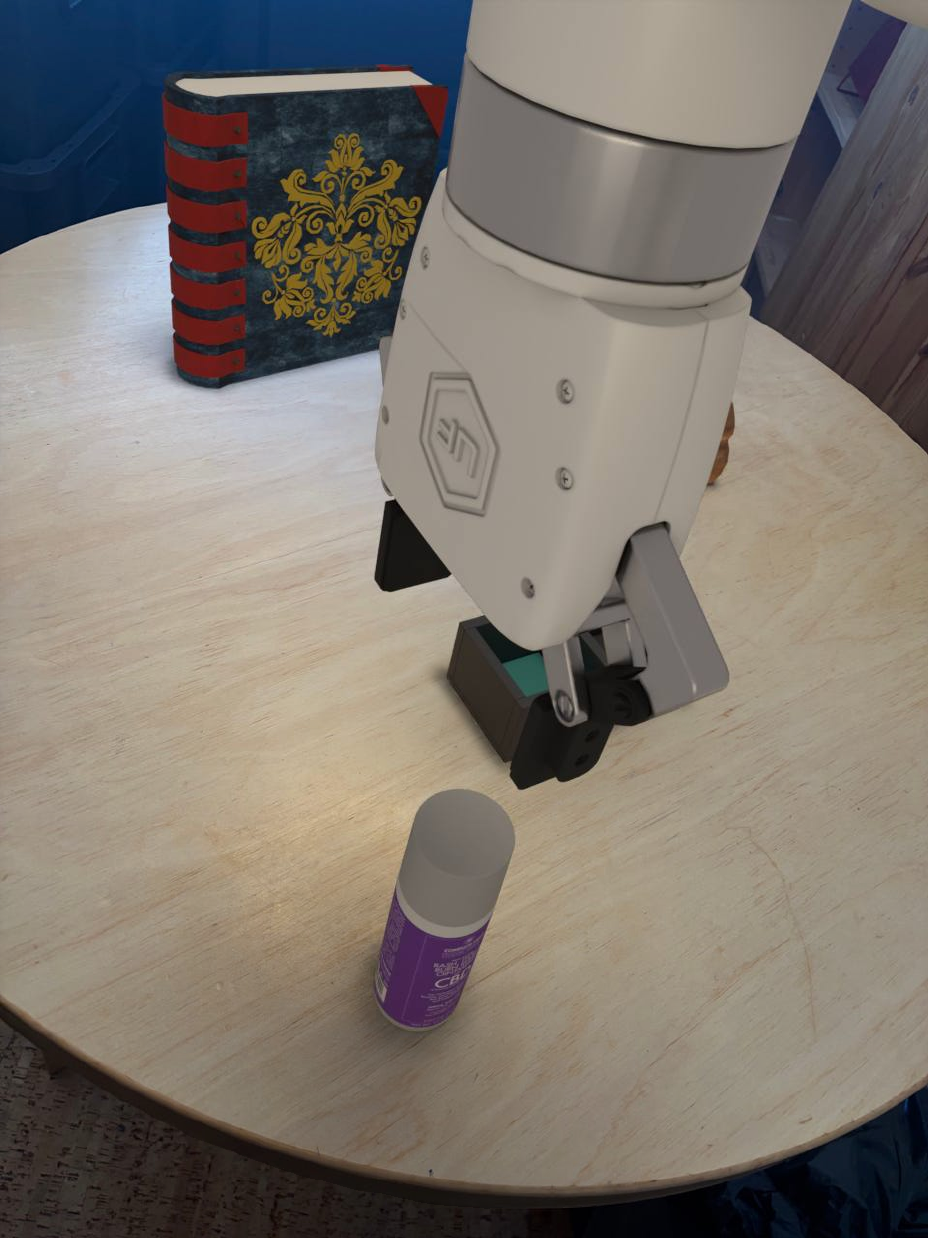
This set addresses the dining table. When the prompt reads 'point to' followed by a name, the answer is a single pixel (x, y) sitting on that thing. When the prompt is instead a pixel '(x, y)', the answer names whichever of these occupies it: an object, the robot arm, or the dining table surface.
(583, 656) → the dark grey divided box
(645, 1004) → the dining table surface
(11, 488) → the dining table surface
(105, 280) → the dining table surface
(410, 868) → the container
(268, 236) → the book
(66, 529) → the dining table surface
